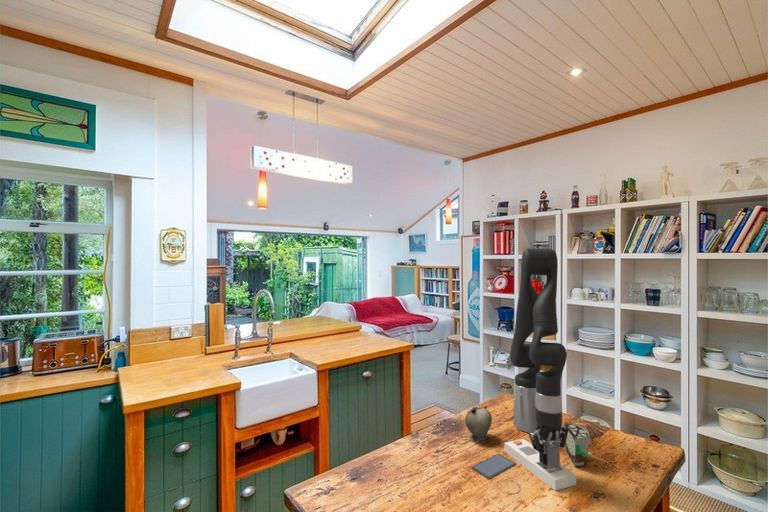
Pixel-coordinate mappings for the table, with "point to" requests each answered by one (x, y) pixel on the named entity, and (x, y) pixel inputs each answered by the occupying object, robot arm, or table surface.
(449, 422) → the table surface
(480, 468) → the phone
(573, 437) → the food container
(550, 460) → the block
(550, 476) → the power strip
